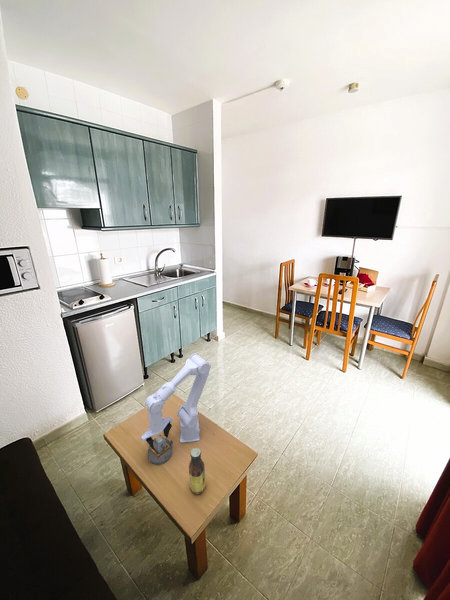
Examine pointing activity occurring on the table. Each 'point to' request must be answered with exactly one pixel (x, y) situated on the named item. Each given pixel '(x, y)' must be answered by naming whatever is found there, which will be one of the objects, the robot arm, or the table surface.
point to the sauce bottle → (196, 472)
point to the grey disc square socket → (161, 457)
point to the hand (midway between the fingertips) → (159, 441)
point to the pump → (159, 444)
